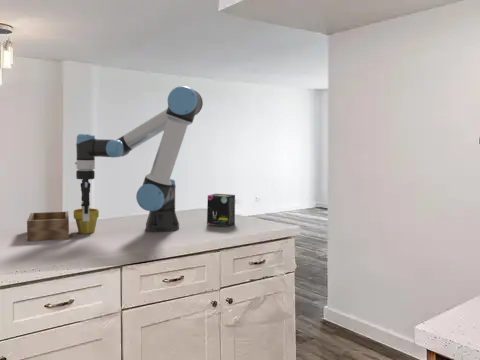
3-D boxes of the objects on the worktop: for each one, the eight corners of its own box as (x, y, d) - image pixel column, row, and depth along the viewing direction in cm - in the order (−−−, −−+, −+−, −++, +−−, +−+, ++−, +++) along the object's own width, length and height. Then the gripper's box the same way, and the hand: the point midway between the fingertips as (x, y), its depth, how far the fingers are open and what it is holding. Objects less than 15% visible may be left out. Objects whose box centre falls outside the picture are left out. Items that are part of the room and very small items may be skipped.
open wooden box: (68, 228, 208) (68, 211, 207) (69, 238, 187) (68, 219, 186) (31, 230, 202) (30, 212, 202) (27, 241, 181) (26, 221, 181)
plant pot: (91, 235, 195) (90, 212, 194) (69, 233, 197) (68, 211, 196) (103, 230, 205) (103, 208, 204) (82, 229, 207) (81, 207, 206)
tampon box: (206, 225, 221) (206, 195, 219) (214, 222, 229) (215, 193, 228) (227, 227, 216) (227, 196, 215) (235, 224, 225) (235, 194, 224)
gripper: (75, 168, 209) (75, 214, 211) (77, 171, 186) (76, 223, 187) (93, 168, 212) (92, 213, 213) (96, 172, 188) (96, 223, 190)
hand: (85, 218), depth 200 cm, fingers open, 13 cm apart
